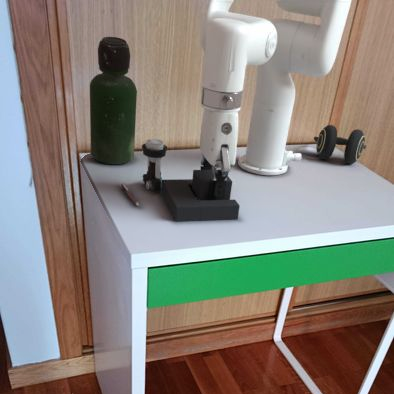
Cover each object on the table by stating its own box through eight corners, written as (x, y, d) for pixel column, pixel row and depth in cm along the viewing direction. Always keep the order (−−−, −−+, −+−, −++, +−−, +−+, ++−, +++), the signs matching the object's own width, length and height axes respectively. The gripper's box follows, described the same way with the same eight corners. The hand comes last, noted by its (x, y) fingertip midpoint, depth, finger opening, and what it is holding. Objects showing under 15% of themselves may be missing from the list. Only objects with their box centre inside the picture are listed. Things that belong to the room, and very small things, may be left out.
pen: (119, 186, 109) (119, 181, 108) (122, 185, 109) (122, 181, 109) (136, 207, 102) (136, 202, 101) (140, 207, 102) (140, 202, 101)
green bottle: (136, 149, 126) (141, 37, 108) (130, 168, 119) (135, 52, 101) (95, 143, 125) (93, 29, 108) (86, 162, 118) (84, 43, 100)
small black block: (220, 187, 107) (222, 169, 105) (229, 200, 103) (232, 181, 100) (191, 188, 106) (193, 169, 103) (199, 201, 101) (201, 182, 99)
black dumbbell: (308, 158, 133) (310, 152, 150) (364, 167, 131) (360, 160, 148) (316, 123, 129) (318, 121, 146) (374, 132, 127) (369, 129, 144)
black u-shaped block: (217, 191, 112) (219, 178, 110) (237, 219, 102) (239, 205, 100) (161, 193, 109) (161, 179, 107) (175, 221, 98) (176, 207, 96)
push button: (133, 184, 111) (133, 137, 105) (152, 180, 114) (154, 134, 107) (150, 195, 107) (151, 147, 101) (170, 190, 110) (172, 144, 104)
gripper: (256, 112, 87) (241, 209, 99) (226, 87, 100) (216, 175, 111) (215, 111, 85) (205, 210, 97) (190, 86, 98) (183, 176, 109)
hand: (211, 191), depth 104 cm, fingers closed on small black block, 6 cm apart
